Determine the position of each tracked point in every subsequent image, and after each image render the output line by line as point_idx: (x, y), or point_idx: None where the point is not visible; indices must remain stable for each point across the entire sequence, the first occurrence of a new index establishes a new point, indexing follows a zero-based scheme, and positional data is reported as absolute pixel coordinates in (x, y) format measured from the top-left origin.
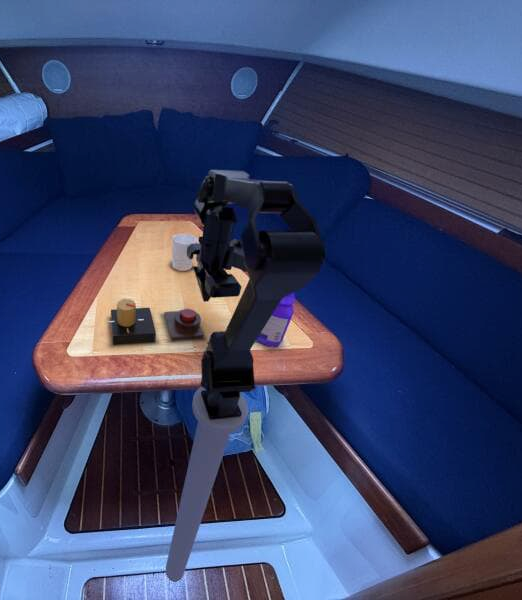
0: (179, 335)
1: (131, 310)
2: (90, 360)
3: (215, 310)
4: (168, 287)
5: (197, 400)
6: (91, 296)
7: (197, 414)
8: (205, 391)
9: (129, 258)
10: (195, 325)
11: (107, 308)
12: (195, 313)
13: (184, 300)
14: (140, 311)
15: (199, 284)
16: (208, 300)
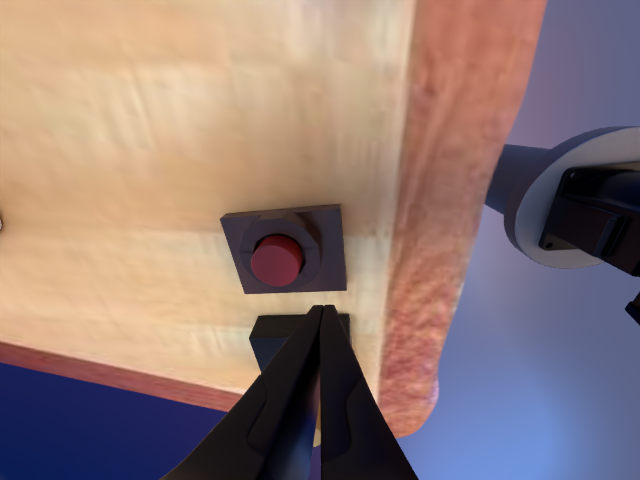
0: (340, 273)
1: (320, 426)
2: (388, 398)
3: (187, 129)
4: (116, 261)
5: (557, 258)
6: (213, 393)
7: (593, 264)
8: (548, 240)
9: (30, 332)
10: (316, 240)
11: (245, 375)
12: (274, 246)
13: (164, 227)
14: (268, 355)
15: (307, 476)
16: (336, 310)
